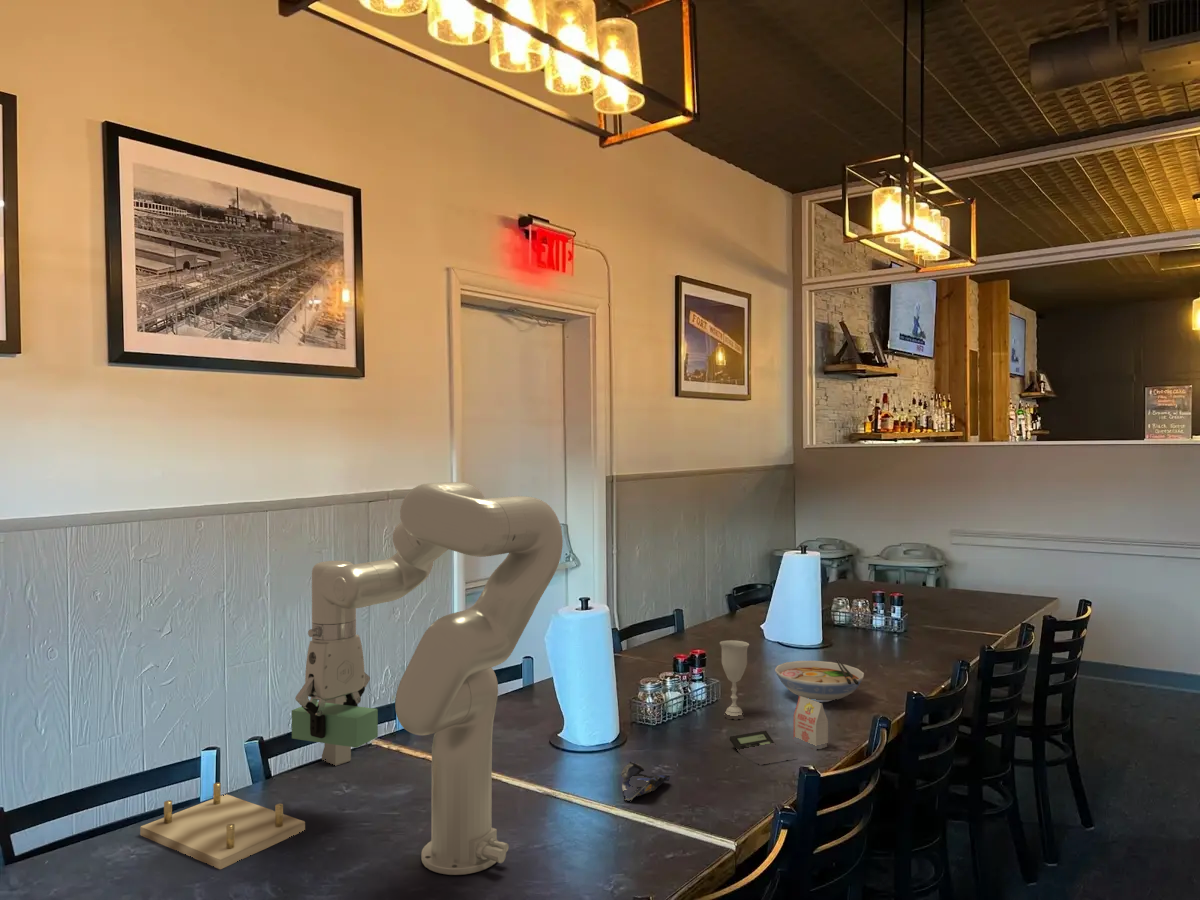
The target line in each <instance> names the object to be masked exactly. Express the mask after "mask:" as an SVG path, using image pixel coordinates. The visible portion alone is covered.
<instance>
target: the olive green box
mask: <svg viewBox="0 0 1200 900" xmlns="http://www.w3.org/2000/svg"><path fill="white" fill-rule="evenodd" d="M318 702H319V701H317V704H316V706H317V705H318ZM378 711H379V709H378V708H372V707H366V706H365V707H364V706H359V705H358V706H349V705H341V704H333V703H326V704H325V707H324V710H323V713H322V714H323V715H325V737H324V738H318V737H314V736H311V734H310V714H308V713H307V711H306V710H305V709H304V708H303V707H302V705H300V707H296V708H294V709H292V710H291V739H294V740H301V741H305V742H306V741H308V742H314V743H321V744H325V743H327V744H334V745H341V746H348V747H351V748H357V749H358V748H359V747H361V746H363V745H365V744H366V743H367V744H368V743H369V742H370V741H372V740H375V739H377V738H378V737H379V729H378V728H379V727H378V723H379V718H378Z"/></svg>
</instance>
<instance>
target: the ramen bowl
mask: <svg viewBox="0 0 1200 900" xmlns="http://www.w3.org/2000/svg"><path fill="white" fill-rule="evenodd" d="M774 671H775V674H776V675H777V677H778V678H779V680H780V681H781V684H783V685H784V687H785V688H786V689H787V690H788V691H790V692H791V693H792V694H794V695H796V696H798V697H799V696H802V697H805V698H809V699H816V700H834V701H836V700H835V699H837V700H841V699H844V698H846V697H848V696H849V695H851V694H853V693H854V692H855V691H856V690H857V689H858V687H859V686H860V684H861V683H862V681H863V679H864V677H865V676H864V675H865V673H864V672H863V671H862V670H860V669H859V668H857V667H854V666H851V665H848V664H845V663H844V664H843V662H842V661H840V660H839V659H835V662H834V661H822V660H821V661H820V660H794V661H787V662H783V663H781V664H778V665H776V667H775V669H774Z"/></svg>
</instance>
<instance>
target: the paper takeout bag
mask: <svg viewBox="0 0 1200 900" xmlns="http://www.w3.org/2000/svg"><path fill="white" fill-rule="evenodd" d="M823 704H824V703H819V702H817V701H814V700H811V699H808V698H805V697H802V696H798V699H797V703H796V706H795V710H794V713H793V738H794V737H796V738H799V739H801V740H803V741H805V742H808V743H810V744H813V745H815V746H817V745H821V744H825V743H828V744H829V720H828V716H827V715H826V712H825V709H824V706H823Z"/></svg>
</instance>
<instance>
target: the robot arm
mask: <svg viewBox="0 0 1200 900" xmlns="http://www.w3.org/2000/svg"><path fill="white" fill-rule="evenodd" d="M400 505H401V506H400V510H399V514H400V522H399V523H398V524H397V525H396V527H395V528H394V530H393V533H392V542H393V545H394V548H395V550H396V552H395V554H393V555H392V556H390V557H389V558H387V559H381V560H374V561H367V562H361V563H356V564H354V563H353V562H351V561H348V560H328V561H327V560H326V561H325V560H324V561H321V562H318V563H315V564H314V565H313V567H312V570H311V629H308V632H307V634H308V637H310V638H311V640H310V641H309V644H308V649H307V654H306V660H305V661H306V662H305V677H304V678H305V679H304V682H305V683H304V684H303V686H302V687H301V689H300V690H299V691H298V693H297V694H296V696H295V697H294V698H295V701H296V702H297V703H298V704H299V705H300V706H302V707H303V708H304V709H305V710H306V711H307V713H308V714H310V734H311V736H314V737H318V738H324V737H325V715H323V714H322V713H323V710H324V707H325V704H326V701H327V700H331V699H334V698H337V697H341V696H344V697H345V699H346V702H343V705H349V706H358V707H359V704H360V703H361V700H362V698H361V697H362V696H363V694H364V693H365V691H366V688H367V686H368V684H369V682H370V679H371V677H370V676H369V675H368V673H366V672H365V660H364V650H363V646H362V641H361V638H360V635H359V634H357V609H360V608H367V607H371V606H372V605H373V606H375V605H378V604H384V603H390V602H393V601H397V600H400V599H401V598H403V597H405V596H406V595H408V594H409V593H410V592H412V591H413V590H414V589H416V588H417V587H418V586H420V585H421V584H422V583H423V582H424V581H426V580H427V578H428V577H429V575H430V573H431V572H432V569H433V566H434V562H435V561H437V559H439V558H440V557H441V556H443V555H444V553H446V552H447V551H449V550H450V551H453V552H457V553H460V554H463V555H467V556H471V557H479V558H481V557H483V558H484V557H493V556H498V555H505V554H507V555H506V557H505V559H504V560H503V561H502V562H501V563H500V564H499V565H498V566H497V567H496V568H495V570H493V572H492V573H491V575H490V576H489V577H488V579H487V581H486V583H485V585H484V588H483V590H482V592H481V593H480V595H479V597H478V598H477V600H476V601H475V602H474V603H473V605H472V606H470V607H469V608H467V609H463V610H461V611H456V612H453V613H449V614H446V615H443V616H441V617H440V618H438V619H436V620H435V621H434V622H433V623H432V624H431V625H430V626H429V627H428V628H426V630H425V632H424V633H423V635H422V636H421V638H420V641H419V642H418V645H417V646H416V649H415V650H414V653H413V654H412V656H411V659H410V660H409V663H408V665H407V667H406V669H405V671H404V673H403V675H402V677H401V679H400V681H399V684H398V686H397V690H396V693H395V699H394V701H395V702H394V707H395V708H394V711H395V716H396V718H397V720H398V723H399V724H400V725H401V727H402V728H403V729H404V731H405V730H406V731H407V732H408V733H410V734H413V735H415V736H427V735H432V734H434V735H433V739H432V740H433V741H432V745H431V746H432V747H431V829H430V830H431V839H430V841H429V842H427V844H425V845H424V846H423V848H422V849H421V863H422V865H423V866H424V867H425V868H427V869H428V870H429V871H431V872H434V873H438V874H441V875H442V874H443V875H449V876H462V875H470V874H471V875H472V874H475V873H479V872H481V871H484V870H487V869H488V868H490V867H492V866H493V865H495V864H496V863H498V864H502V863H504V861H505V860H506V857H507V852H508V850H509V847H510V846H509V845H510V844H509V843H507V842H504V841H499V840H498V838H497V833H498V831H497V828H495V827H492V806H493V805H492V797H493V796H492V791H493V790H492V785H493V784H492V782H493V781H492V776H493V775H492V770H493V769H492V764H493V763H492V759H493V750H492V749H493V728H494V720H495V713H496V709H497V704H498V698H499V697H498V695H499V683H498V678H497V676H496V675H497V674H496V673H495V670H494V669H493V668H495V667H498V665H501V664H503V663H504V662H506V661H507V660H508V659H509V657H510V656H511V655H512V654H513V651H514V649H515V648H516V646H517V644H518V642H519V640H520V638H521V636H522V634H523V633H524V631H525V629H526V627H527V625H528V623H529V622H530V620H531V618H532V616H533V613H534V611H535V610H536V607H537V606H538V603H539V602H540V599H541V598H542V596H543V594H544V592H546V590H547V588H548V586H549V584H550V583H551V581H552V579H553V577H554V575H555V573H556V571H557V569H558V567H559V564H560V561H561V557H562V553H563V547H564V546H563V539H564V538H563V532H562V526H561V523H560V521H559V518H558V516H557V514H556V512H555V511H554V509H553V508H552V506H550V505H549V504H548V503H547V502H545V501H544V500H542V499H539V498H536V497H532V496H527V495H526V496H523V495H521V496H520V495H518V496H517V495H516V496H513V495H512V496H504V497H503V496H501V497H490V498H485V496H484V494H483V493H482V491H481V490H480V489H478V488H477V487H476V486H474V485H472V484H470V483H467V482H460V481H453V482H430V483H423V484H420V485H416V486H415V487H413V488H412V489H411V490H410V491H409V492H408V493H407V494H406V495H405V497H404V498H403V500H402V503H401V504H400ZM309 697H310V699H309ZM317 702H318V705H317V706H316V704H317Z"/></svg>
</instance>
